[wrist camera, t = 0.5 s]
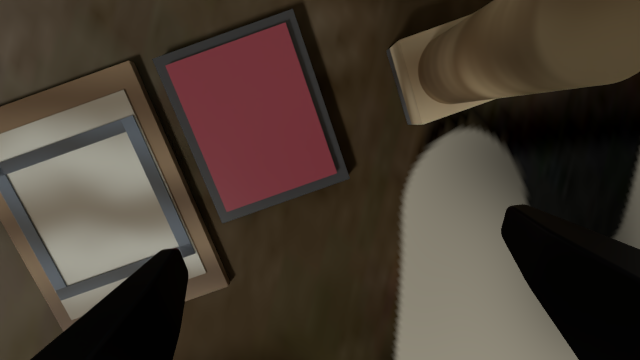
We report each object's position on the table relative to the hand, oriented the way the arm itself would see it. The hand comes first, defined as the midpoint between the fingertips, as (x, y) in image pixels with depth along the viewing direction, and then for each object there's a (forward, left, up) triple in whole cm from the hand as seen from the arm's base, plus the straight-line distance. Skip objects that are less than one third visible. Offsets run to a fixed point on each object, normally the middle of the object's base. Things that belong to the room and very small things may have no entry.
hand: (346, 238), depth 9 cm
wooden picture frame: (+2, +15, -13) cm, 20 cm away
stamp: (+3, -9, -13) cm, 17 cm away
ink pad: (+4, +3, -13) cm, 14 cm away
